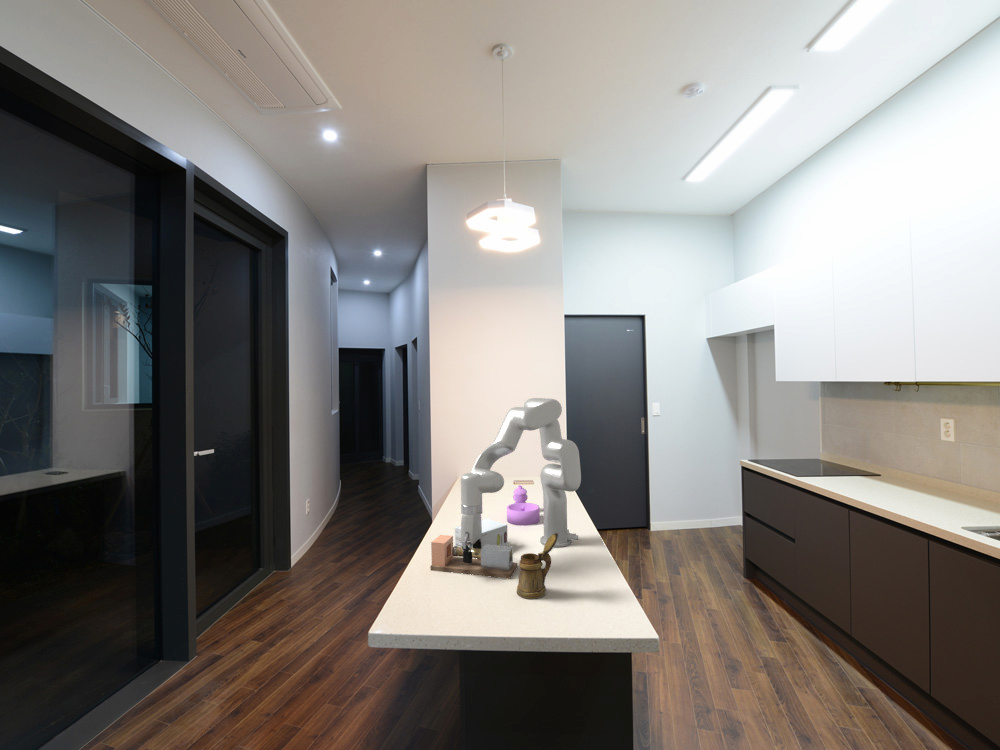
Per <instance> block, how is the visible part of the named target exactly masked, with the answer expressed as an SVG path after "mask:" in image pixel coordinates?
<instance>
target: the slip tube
mask: <svg viewBox="0 0 1000 750" xmlns="http://www.w3.org/2000/svg"><path fill="white" fill-rule="evenodd" d="M471 551H472V558H473V559H476V558H477V559H481V549H477V548H472V549H471ZM452 555H453V557H463V548H462V547H458V546H455V545H453V551H452ZM510 557H511V553H509V561H510Z"/></svg>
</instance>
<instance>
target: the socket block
mask: <svg viewBox="0 0 1000 750" xmlns="http://www.w3.org/2000/svg"><path fill="white" fill-rule="evenodd" d="M430 545H431V546H430V547H431V565H438V566H445V565H446V564H447V563H449V562H450V561H451V560H452V559H453V557H454V556H453V555H452V551H453V547H454V536H453V535H447V534H440V535H438V536H437V537H436V538H434V539H433V540H431V542H430Z"/></svg>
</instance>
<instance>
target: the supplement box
mask: <svg viewBox="0 0 1000 750" xmlns="http://www.w3.org/2000/svg"><path fill="white" fill-rule="evenodd" d="M481 522H482V535H481V549H482V548H483V546H484V545H485V544H488V545H499V546H508V524H507V523H503V522H500V521H497V520H493V519H490V518H487V517H485V518H481ZM460 539H461V525H458V526H456V527H454V546H458V547H462V543H461V541H460ZM467 542H471V541H467ZM469 546H470V545H468V547H469ZM472 548H473V544H472Z"/></svg>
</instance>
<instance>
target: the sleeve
mask: <svg viewBox="0 0 1000 750" xmlns="http://www.w3.org/2000/svg"><path fill="white" fill-rule="evenodd" d="M513 548H514V547H513V546H499V545H488V544H485V545H484V546H483V548H482V549H481V568H485V569H494V570H504V571H509V570H510V569H511V567H512V566H513V562H514V561H513V560H514V556H513V555H514V552H513ZM509 553H511V557H510V561H509Z"/></svg>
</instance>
